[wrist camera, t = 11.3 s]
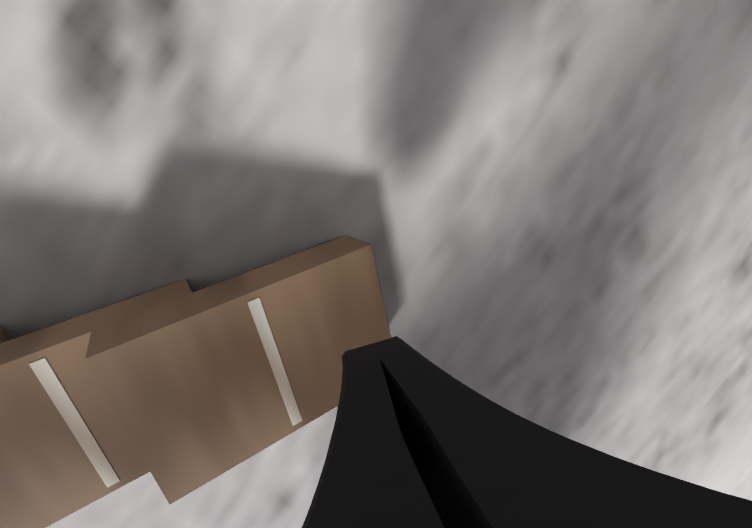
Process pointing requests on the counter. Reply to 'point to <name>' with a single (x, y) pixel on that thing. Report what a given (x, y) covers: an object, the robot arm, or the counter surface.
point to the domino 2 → (238, 360)
